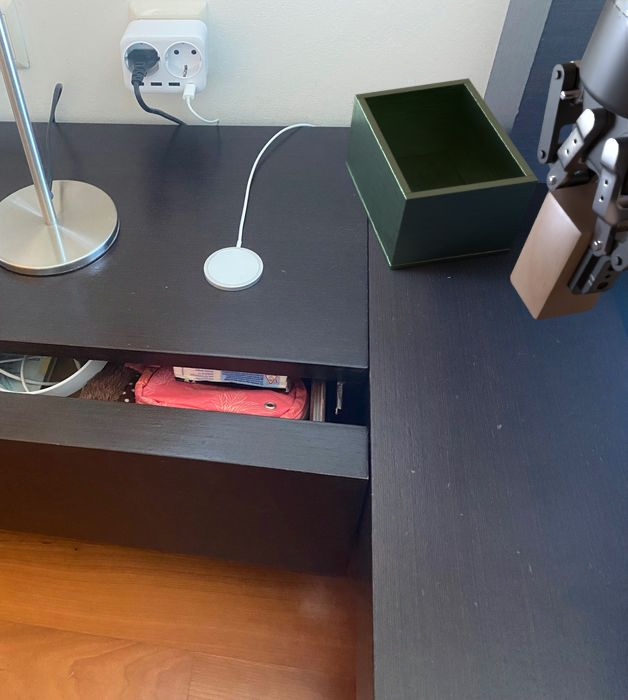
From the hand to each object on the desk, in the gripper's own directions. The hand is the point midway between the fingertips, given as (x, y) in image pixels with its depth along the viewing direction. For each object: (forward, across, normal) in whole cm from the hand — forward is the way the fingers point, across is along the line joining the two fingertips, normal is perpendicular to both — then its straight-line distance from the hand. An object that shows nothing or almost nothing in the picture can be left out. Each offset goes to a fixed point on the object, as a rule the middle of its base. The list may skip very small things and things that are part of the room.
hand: (566, 260), depth 46 cm
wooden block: (+3, 0, 0) cm, 3 cm away
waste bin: (+22, +29, -5) cm, 37 cm away
